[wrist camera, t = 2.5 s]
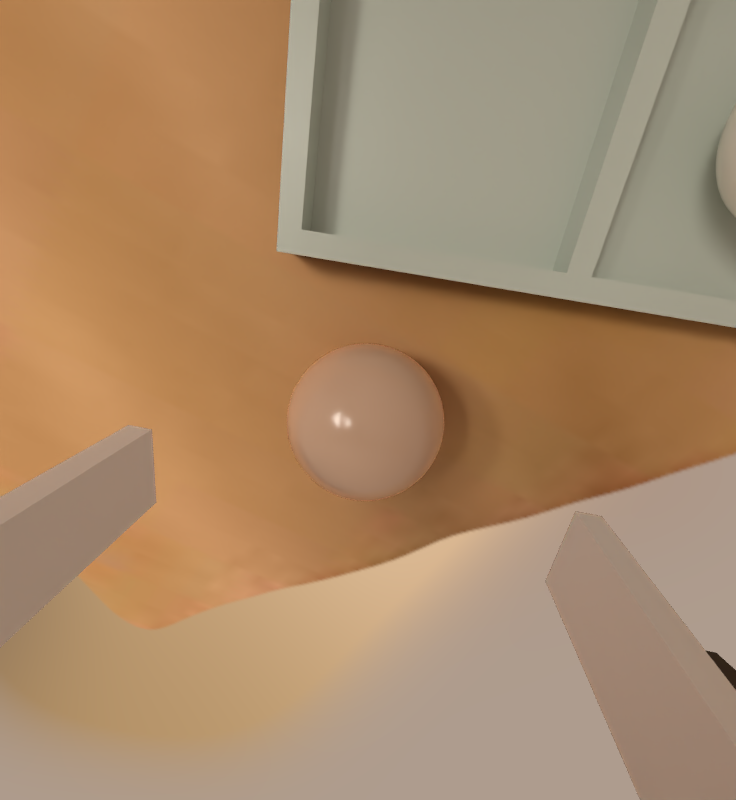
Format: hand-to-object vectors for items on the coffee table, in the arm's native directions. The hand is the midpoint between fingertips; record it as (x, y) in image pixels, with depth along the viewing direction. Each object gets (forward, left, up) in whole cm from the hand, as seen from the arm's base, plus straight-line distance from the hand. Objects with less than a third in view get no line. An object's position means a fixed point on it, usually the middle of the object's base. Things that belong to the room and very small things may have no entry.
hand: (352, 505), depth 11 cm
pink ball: (0, 0, -9) cm, 9 cm away
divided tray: (-13, +7, -9) cm, 18 cm away
